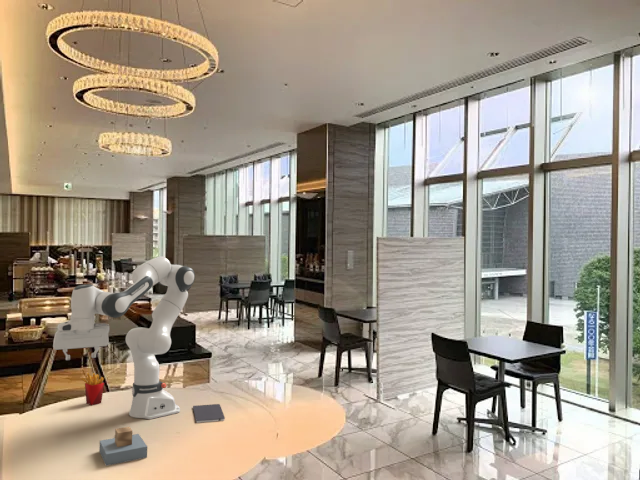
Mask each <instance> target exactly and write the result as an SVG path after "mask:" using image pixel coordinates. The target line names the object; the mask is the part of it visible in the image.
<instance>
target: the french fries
mask: <svg viewBox="0 0 640 480" xmlns="http://www.w3.org/2000/svg"><path fill="white" fill-rule="evenodd" d="M86 374H87V377H86V379H85V378H83V377H81V380H82V381H83V382H84V389H85V402H86V404H87V405H89V406H97V405H100V404H102V400H103V394H104V388H105V386H104V385H105V382H103V381H104V380H105V379H104V377H103V376H101V377H100V375H99V374H98V373H97V374H96V372H94V373H92V375H90V372H87V373H86Z"/></svg>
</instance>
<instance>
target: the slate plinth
mask: <svg viewBox="0 0 640 480" xmlns="http://www.w3.org/2000/svg"><path fill="white" fill-rule="evenodd" d="M98 450H99V451H98V452H99V455H100V456H101V458H102V460H103V463H104V465H105V466H106V467H108V466H112V465H118V464H121V463H127V462H131V461H136V460H141V459H146V458H148V445H147V443H146V442H145V441H144V440H143V438H142V436H141V435H140V433H136V434H132V445H126V446H121V447H117V445H116V444H115V437H111V438H108V439H107V438H106V439H101V440H99V449H98Z"/></svg>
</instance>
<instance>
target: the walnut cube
mask: <svg viewBox="0 0 640 480" xmlns="http://www.w3.org/2000/svg"><path fill="white" fill-rule="evenodd" d="M114 433H115V434H114V438H115V444H116V445H117V447H121V446H126V445H132V435H133V430H132V428H131V427H130V426H125V427H119V428H115V431H114Z"/></svg>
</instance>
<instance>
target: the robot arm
mask: <svg viewBox="0 0 640 480" xmlns="http://www.w3.org/2000/svg"><path fill="white" fill-rule="evenodd" d="M195 272H196V271H194V269H193V268H192V267H189V266H186V265H180V264H171V261H170V260H169V259H168V258H166V257H165V256H162V255H160V256H157V257H154V258H153V257H152V258H151V259H149V260H147V261H145V262H143V263H142V264H140V265H138V266H137V267H136V268H135V269H134V270H133V271H132V273H131V280H132V283H133V284H131V285H130V286H129V287H128V288H126V289H125V290H124V291H120V292H109V291H105V290H102V289H100V288H97V287H96V286H95V285H94V284H91V283H87V284H80V285H79V284H78V285H76V286H75V287H73V290H72V294H71V299H70V309H71V313H70V320H66V321H64V322H61V323H58V324H57V330H56V332H55V333H54V338H53V344H52V347H53V349H54V350H56V351H57V350H59V351H60V350H62V352H63V354H64V356H65V361H70V360H71V355H70V354H68V350H70V349H71V350H72V349H84V348H94V349H95V350H94V352H91V358H92V359H95V358H97V353H98V351H99V350H100V347H107V346H108V345H109V343H110V341H109V333H110V325H109V324H107V323H105V322H103V323H95V315H96V314H98V315H101V316H106V317H107V316H108V317H110V318H115V319H116V318H120V317H122V316H124V315H125V314H126V313H127V311H128V310H129V309H130V308H131V307H132V305H133V304H135V302H137V301H138V300H139V299H140V298H141V297H143V296H144V295H145V294H146V293H148V292H149V291H150V290H151V289H152V288H153V286H155V285H157V284H159V285H161V286H165V287H166V286H167V289H166V293H165V294H164V295H163V296H162V298H161V299H160V301H158V304H157V305H156V306H155V308H154V310H153V311H152V312H151V317H152V322H151V325H150V327H149V328H148V327H141V326H139V327H134V328H131V329H130V330H129V331H128V332H127V334H126V335H125V343H126V345H127V347H128V348H129V351H130V353H131V357H132V361H133V368H134V370H133V371H134V372H133V383H132V389H131V390H132V391H131V392H132V393H131V394H132V401H131V405H130V409H129V413H128V416H130V417H131V418H136V419H147V420H152V419H156V418H161V417H166V416H170V415H174V414H179V413H180V412H181V407H180V406H179V405H178V404H176V399H175V397H174V395H172V394H171V393H170V392H168V391H167V390H165V388H166V387H167V383H164V382H163V381H161V380H160V364H159V361H158V360H157V358H156V355H164V354H166V353H167V352H168V351H169V350H170V348H171V345H172V338H171V331H172V328H173V325H174V324H175V322H176V321H177V319H178V317H179V315H180V314H181V312H182V310H183V309H184V307H185V305H186V303H187V299H188V298H189V293H188V291H189V290H190V289H191V288H192V286H193V284H195V283H194V282H195V280H196V273H195Z"/></svg>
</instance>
